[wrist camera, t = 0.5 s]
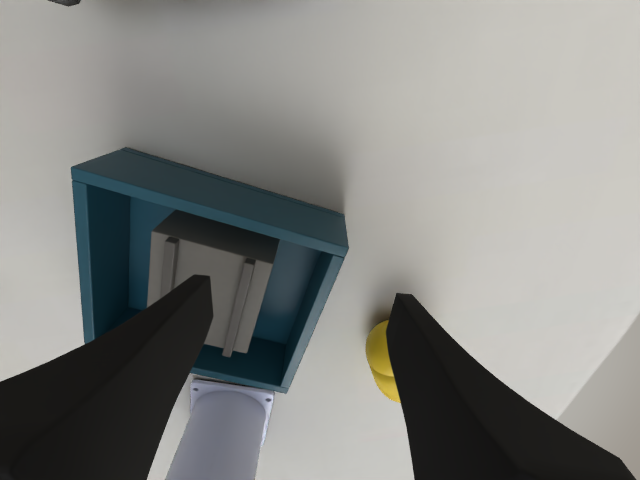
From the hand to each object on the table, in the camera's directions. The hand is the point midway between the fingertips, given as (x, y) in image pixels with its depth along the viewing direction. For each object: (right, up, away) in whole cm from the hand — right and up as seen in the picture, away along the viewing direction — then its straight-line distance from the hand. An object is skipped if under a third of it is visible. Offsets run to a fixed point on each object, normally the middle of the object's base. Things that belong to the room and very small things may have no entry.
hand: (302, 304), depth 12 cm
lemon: (+7, -6, +14) cm, 17 cm away
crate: (-7, +1, +11) cm, 13 cm away
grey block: (-7, 0, +10) cm, 12 cm away
